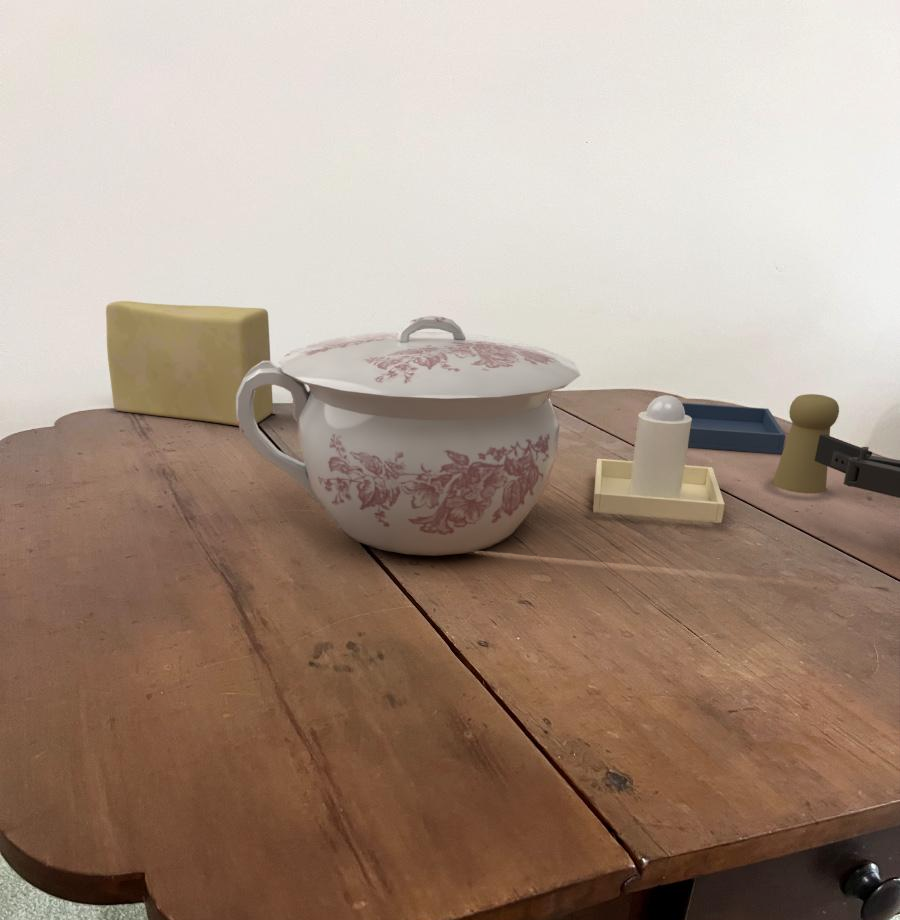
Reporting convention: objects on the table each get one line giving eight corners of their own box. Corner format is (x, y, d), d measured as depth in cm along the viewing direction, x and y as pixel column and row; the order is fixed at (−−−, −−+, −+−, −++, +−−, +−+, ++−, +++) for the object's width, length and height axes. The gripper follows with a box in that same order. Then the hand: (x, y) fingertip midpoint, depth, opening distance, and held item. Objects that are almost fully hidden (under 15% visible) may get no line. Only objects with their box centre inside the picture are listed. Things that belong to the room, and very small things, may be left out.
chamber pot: (611, 523, 95) (634, 315, 86) (470, 617, 74) (482, 356, 65) (393, 472, 109) (394, 288, 100) (222, 539, 88) (204, 314, 79)
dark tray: (765, 426, 135) (768, 408, 134) (782, 454, 121) (785, 435, 120) (660, 418, 137) (662, 401, 136) (665, 445, 123) (667, 426, 122)
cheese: (98, 418, 127) (83, 305, 120) (132, 402, 135) (119, 296, 129) (251, 430, 123) (244, 314, 117) (275, 413, 132) (270, 304, 126)
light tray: (709, 488, 107) (712, 467, 106) (720, 527, 95) (724, 504, 94) (594, 479, 108) (597, 458, 107) (592, 517, 97) (594, 493, 96)
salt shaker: (678, 491, 104) (692, 392, 99) (681, 507, 99) (697, 403, 94) (628, 487, 104) (640, 388, 100) (629, 503, 99) (641, 399, 94)
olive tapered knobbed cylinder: (791, 499, 104) (810, 403, 99) (761, 483, 109) (778, 390, 105) (836, 496, 106) (857, 401, 101) (805, 480, 111) (823, 389, 106)
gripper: (929, 565, 75) (767, 486, 93) (1142, 538, 83) (954, 470, 101) (954, 477, 72) (781, 413, 90) (1172, 457, 80) (973, 402, 98)
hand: (872, 443), depth 96 cm, fingers open, 13 cm apart
